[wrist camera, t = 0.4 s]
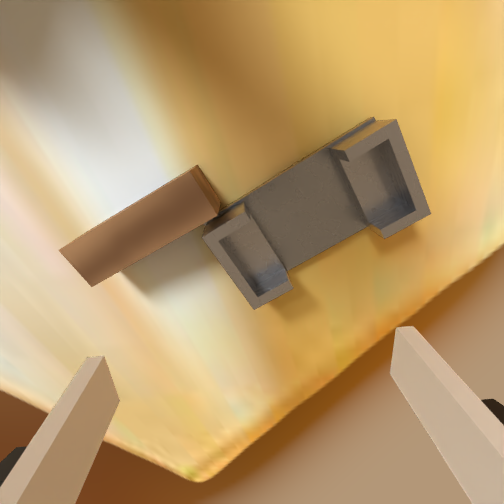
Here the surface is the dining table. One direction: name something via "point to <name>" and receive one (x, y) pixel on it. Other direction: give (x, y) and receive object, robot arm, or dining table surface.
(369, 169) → the bracket
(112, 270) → the brown wooden block
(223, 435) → the dining table surface
